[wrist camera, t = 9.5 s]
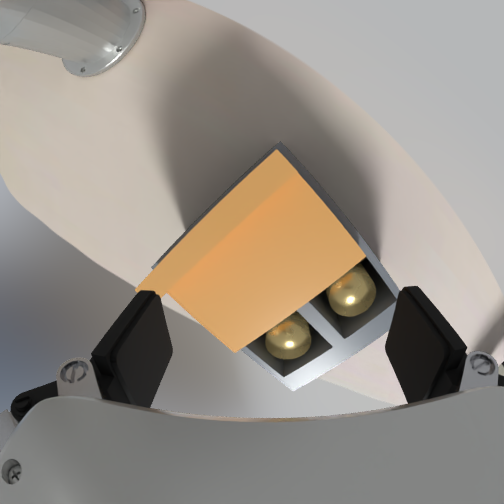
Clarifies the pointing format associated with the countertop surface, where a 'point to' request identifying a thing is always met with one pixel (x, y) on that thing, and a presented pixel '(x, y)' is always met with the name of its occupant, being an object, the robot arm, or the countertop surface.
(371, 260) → the housing
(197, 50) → the countertop surface
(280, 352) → the pin
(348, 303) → the pin
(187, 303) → the cover
